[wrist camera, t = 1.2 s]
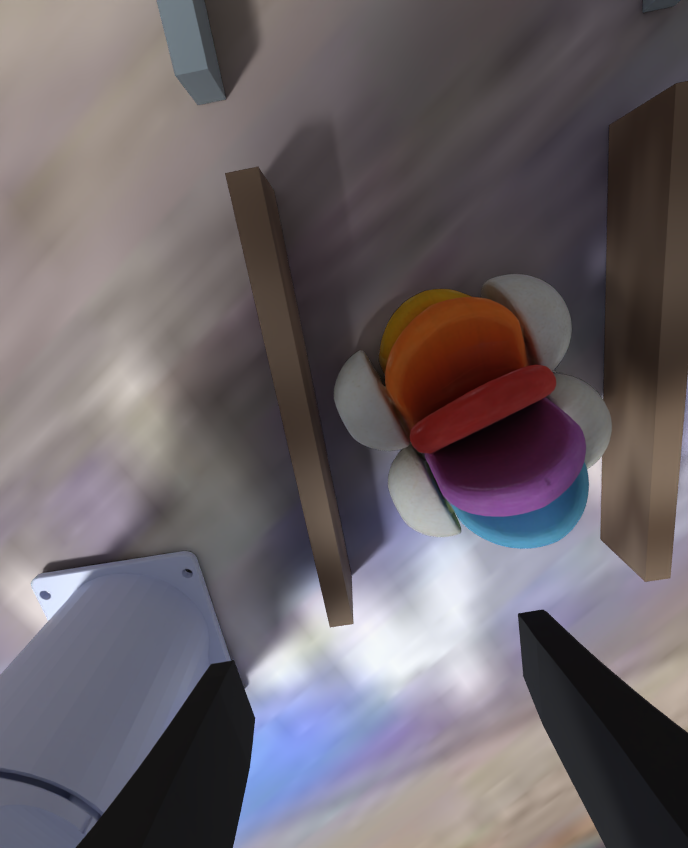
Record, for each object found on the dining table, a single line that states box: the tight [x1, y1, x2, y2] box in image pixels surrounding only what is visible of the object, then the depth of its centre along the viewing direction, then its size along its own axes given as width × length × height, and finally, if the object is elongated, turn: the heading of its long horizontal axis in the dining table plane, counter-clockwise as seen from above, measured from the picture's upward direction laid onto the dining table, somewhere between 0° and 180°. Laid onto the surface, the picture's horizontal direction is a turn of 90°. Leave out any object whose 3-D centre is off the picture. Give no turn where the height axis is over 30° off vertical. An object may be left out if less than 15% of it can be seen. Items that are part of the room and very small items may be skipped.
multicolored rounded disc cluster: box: [334, 274, 612, 549], centre depth 14 cm, size 8×10×7 cm
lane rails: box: [225, 81, 688, 627], centre depth 16 cm, size 17×14×3 cm
